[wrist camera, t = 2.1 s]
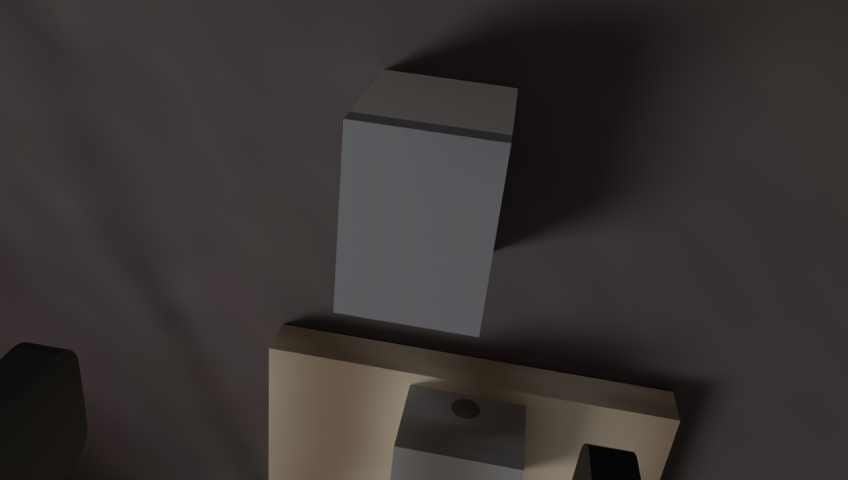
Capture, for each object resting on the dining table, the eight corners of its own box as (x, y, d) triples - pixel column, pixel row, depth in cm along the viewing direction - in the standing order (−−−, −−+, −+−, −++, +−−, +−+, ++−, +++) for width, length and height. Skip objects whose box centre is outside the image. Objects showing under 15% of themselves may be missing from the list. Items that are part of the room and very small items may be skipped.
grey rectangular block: (517, 87, 21) (511, 143, 17) (491, 251, 24) (478, 337, 19) (384, 69, 21) (343, 118, 17) (372, 232, 24) (333, 312, 20)
